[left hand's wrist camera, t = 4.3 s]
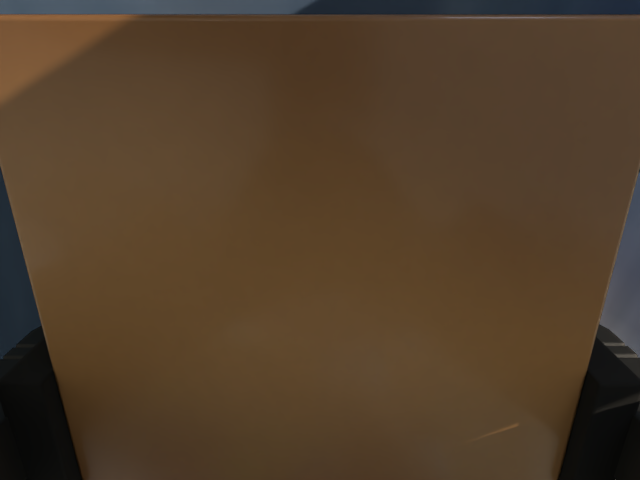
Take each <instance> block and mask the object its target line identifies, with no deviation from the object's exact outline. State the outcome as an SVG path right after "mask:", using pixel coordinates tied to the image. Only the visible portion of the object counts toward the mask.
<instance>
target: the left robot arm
mask: <svg viewBox="0 0 640 480" xmlns="http://www.w3.org/2000/svg"><path fill="white" fill-rule="evenodd" d="M3 357H4V358H3V359H0V480H82V478H81V474H80V471H79V467H78V463H77V459H76V455H75V451H74V447H73V444H72V440H71V436H70V432H69V428H68V424H67V421H66V417H65V413H64V409H63V405H62V401H61V398H60V394H59V390H58V386H57V382H56V378H55V374H54V371H53V367H52V363H51V359H50V355H49V351H48V348H47V344H46V340H45V336H44V332H43V328H42V326H40V327H38V328H37V329H35V330H33V331H31V332H30V333H29V334H28V335H27V336H26V337H25V338H23V339H22V340H21V341H20V342H19V343H18V344H17V345H16V348H12V349H11V350H10V351H9V352H8V353H7V354H6V355H5V356H3ZM615 479H616V480H640V358H638V357H637V354H636V353H635V352H634V351H632V350H631V349H630V348H629V347H628V346H625V343H624V342H622V341H621V340H620V339H619V338H618V337H617V336H616V335H615V334H613V333H612V332H611V331H610V330H609V329H607V328H605V327H603V326H601V325H600V324H599V326H598V330H597V334H596V338H595V341H594V345H593V349H592V353H591V357H590V361H589V364H588V368H587V372H586V376H585V380H584V384H583V388H582V391H581V395H580V399H579V403H578V407H577V411H576V414H575V418H574V422H573V426H572V430H571V434H570V437H569V441H568V445H567V449H566V453H565V457H564V460H563V464H562V468H561V472H560V476H559V480H615Z"/></svg>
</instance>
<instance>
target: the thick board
mask: <svg viewBox="0 0 640 480" xmlns="http://www.w3.org/2000/svg"><path fill="white" fill-rule="evenodd" d="M0 167H1V171H2V174H3V178H4V182H5V186H6V190H7V194H8V198H9V201H10V205H11V209H12V213H13V217H14V221H15V224H16V228H17V232H18V236H19V240H20V244H21V248H22V251H23V255H24V259H25V263H26V267H27V271H28V274H29V278H30V282H31V286H32V290H33V294H34V298H35V301H36V305H37V309H38V313H39V317H40V321H41V324H42V328H43V332H44V336H45V340H46V344H47V348H48V351H49V355H50V359H51V363H52V367H53V371H54V374H55V378H56V382H57V386H58V390H59V394H60V398H61V401H62V405H63V409H64V413H65V417H66V421H67V424H68V428H69V432H70V436H71V440H72V444H73V447H74V451H75V455H76V459H77V463H78V467H79V471H80V474H81V478H82V480H559V476H560V472H561V468H562V464H563V460H564V457H565V453H566V449H567V445H568V441H569V437H570V434H571V430H572V426H573V422H574V418H575V414H576V411H577V407H578V403H579V399H580V395H581V391H582V388H583V384H584V380H585V376H586V372H587V368H588V364H589V361H590V357H591V353H592V349H593V345H594V341H595V338H596V334H597V330H598V326H599V322H600V318H601V315H602V311H603V307H604V303H605V299H606V295H607V292H608V288H609V284H610V280H611V276H612V272H613V269H614V265H615V261H616V257H617V253H618V249H619V246H620V242H621V238H622V234H623V230H624V226H625V223H626V219H627V215H628V211H629V207H630V203H631V200H632V196H633V192H634V188H635V184H636V180H637V177H638V173H639V169H640V14H0Z"/></svg>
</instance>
